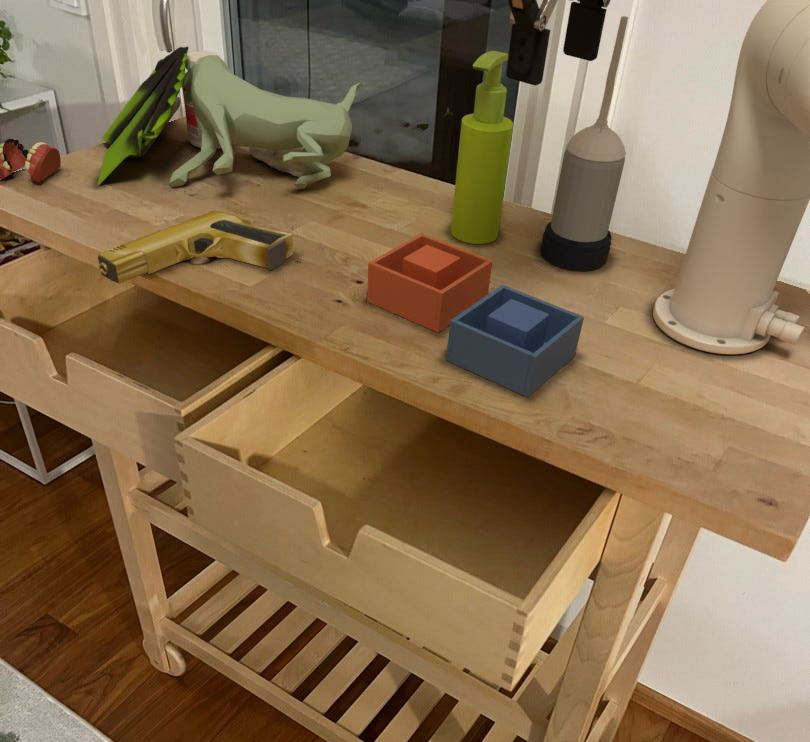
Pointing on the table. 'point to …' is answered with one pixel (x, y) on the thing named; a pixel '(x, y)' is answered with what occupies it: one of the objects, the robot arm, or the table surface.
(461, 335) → the blue bin
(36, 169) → the dentures
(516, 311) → the blue block
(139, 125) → the cloth
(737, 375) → the table surface
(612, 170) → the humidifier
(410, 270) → the terracotta block
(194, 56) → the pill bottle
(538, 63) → the robot arm
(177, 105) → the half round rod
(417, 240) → the terracotta bin
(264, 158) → the sponge
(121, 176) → the table surface
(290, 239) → the handgun
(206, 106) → the statue
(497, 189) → the soap dispenser
